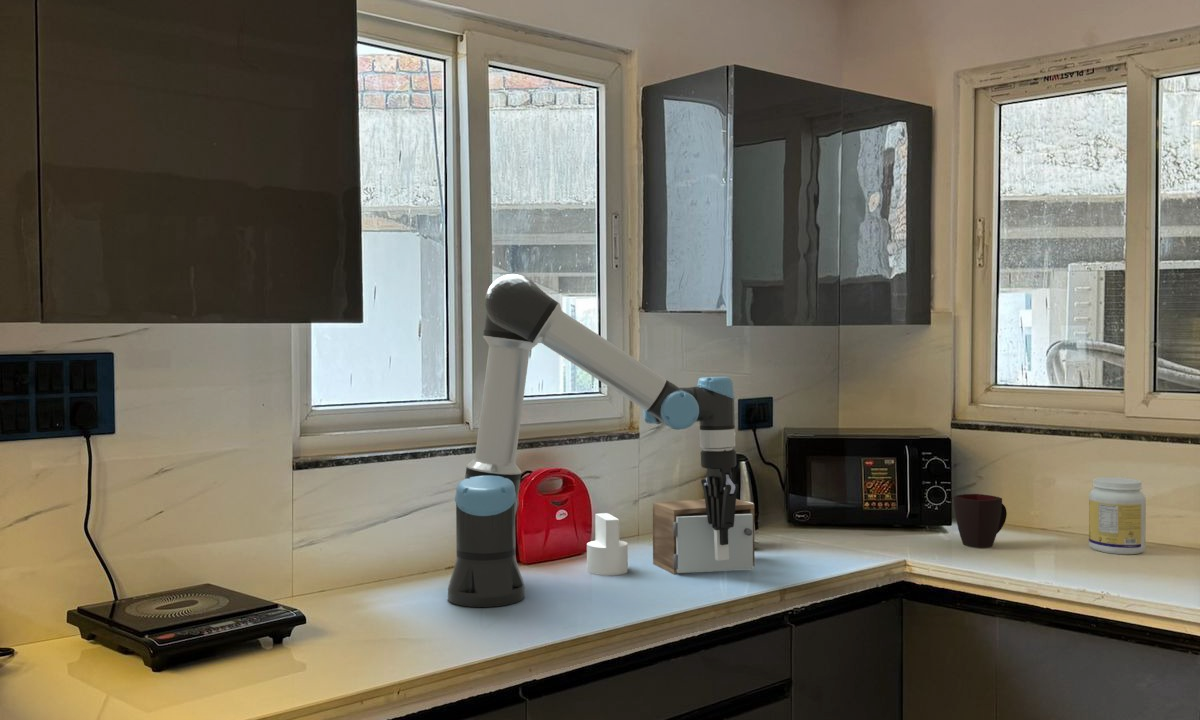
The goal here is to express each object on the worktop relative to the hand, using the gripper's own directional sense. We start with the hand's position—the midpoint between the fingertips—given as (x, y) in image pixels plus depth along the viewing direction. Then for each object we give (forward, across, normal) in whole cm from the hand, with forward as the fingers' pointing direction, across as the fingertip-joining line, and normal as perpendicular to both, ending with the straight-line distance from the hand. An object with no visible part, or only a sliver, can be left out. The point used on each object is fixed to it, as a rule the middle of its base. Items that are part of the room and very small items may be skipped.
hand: (722, 559), depth 214 cm
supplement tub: (+7, -9, -101) cm, 102 cm away
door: (+3, +4, 0) cm, 5 cm away
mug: (+6, +8, -76) cm, 76 cm away
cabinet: (+4, +13, -2) cm, 13 cm away
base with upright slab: (+3, +16, +20) cm, 26 cm away
